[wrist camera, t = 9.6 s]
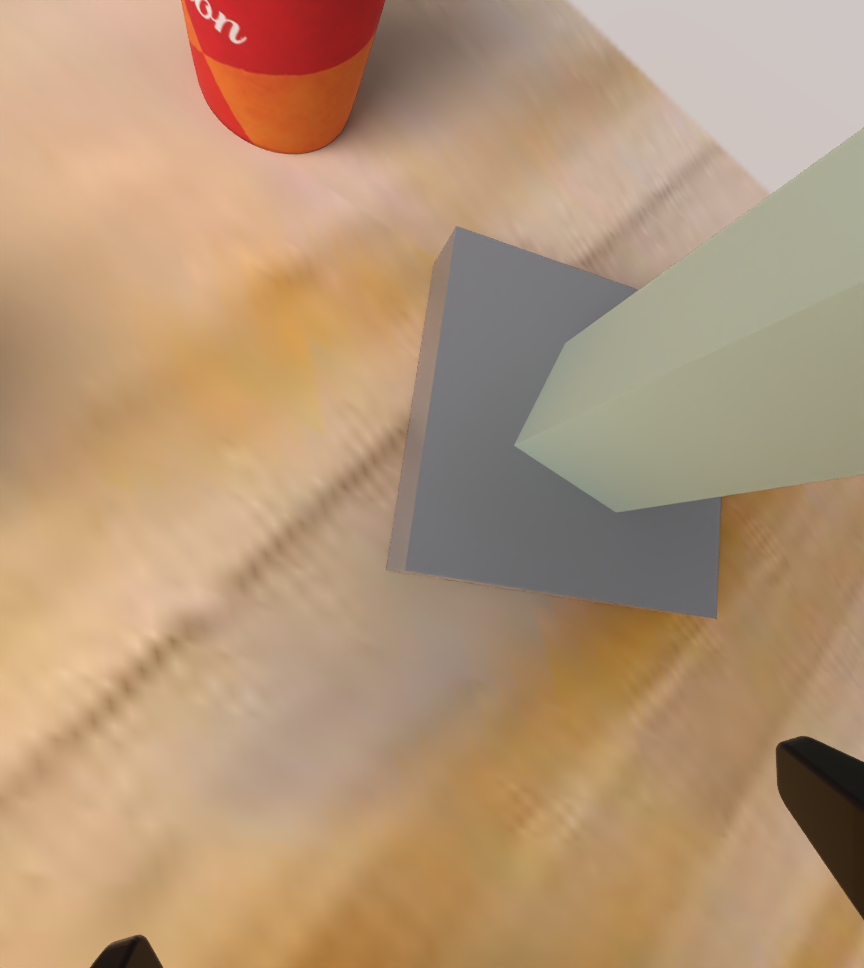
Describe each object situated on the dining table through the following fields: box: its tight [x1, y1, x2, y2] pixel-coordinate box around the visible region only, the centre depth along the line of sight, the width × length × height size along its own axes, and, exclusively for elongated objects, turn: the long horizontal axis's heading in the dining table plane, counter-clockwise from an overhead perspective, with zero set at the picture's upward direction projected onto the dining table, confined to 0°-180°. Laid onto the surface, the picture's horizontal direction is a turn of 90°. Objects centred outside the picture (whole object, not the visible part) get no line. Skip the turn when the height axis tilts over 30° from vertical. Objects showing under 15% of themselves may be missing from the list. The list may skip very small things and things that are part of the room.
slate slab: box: [386, 226, 721, 619], centre depth 21 cm, size 12×12×2 cm
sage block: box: [514, 128, 864, 513], centre depth 14 cm, size 4×4×12 cm
